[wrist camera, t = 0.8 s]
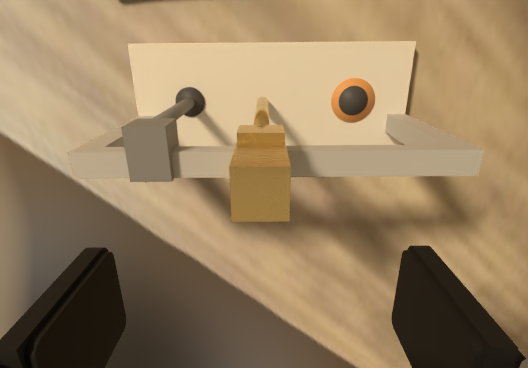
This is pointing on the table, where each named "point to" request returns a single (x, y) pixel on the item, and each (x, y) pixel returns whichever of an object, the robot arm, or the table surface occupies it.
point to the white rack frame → (274, 113)
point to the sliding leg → (260, 171)
